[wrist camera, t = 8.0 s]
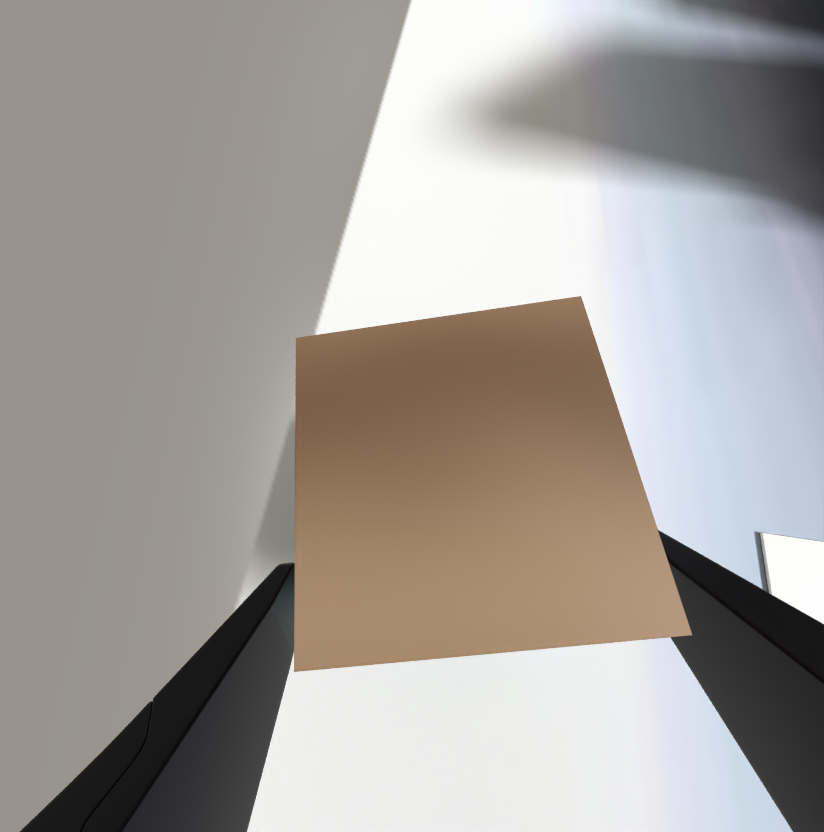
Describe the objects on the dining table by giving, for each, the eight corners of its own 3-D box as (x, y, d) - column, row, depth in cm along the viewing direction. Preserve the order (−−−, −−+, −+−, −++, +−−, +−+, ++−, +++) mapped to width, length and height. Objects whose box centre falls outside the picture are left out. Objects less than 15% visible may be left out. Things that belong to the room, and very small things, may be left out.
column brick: (507, 550, 15) (692, 635, 4) (402, 561, 16) (294, 671, 4) (487, 447, 17) (580, 296, 6) (393, 459, 17) (296, 338, 6)
